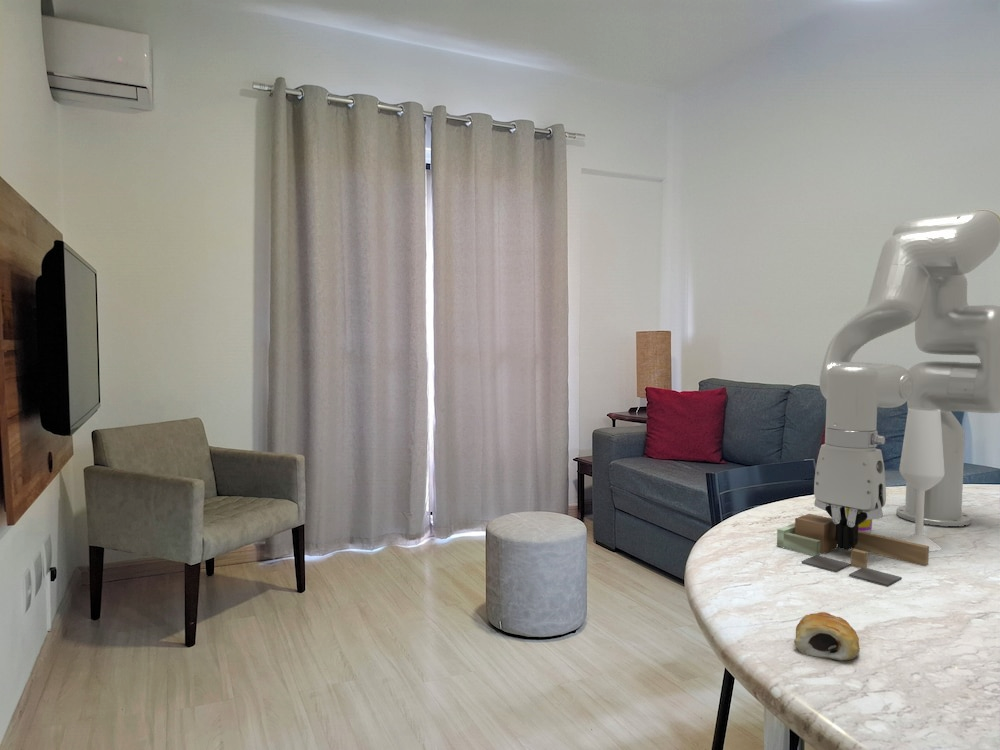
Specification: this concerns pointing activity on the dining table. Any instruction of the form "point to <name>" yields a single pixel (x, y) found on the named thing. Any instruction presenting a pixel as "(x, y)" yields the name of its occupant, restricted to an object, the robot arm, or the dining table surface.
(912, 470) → the champagne flute
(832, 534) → the block
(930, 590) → the dining table surface
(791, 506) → the dining table surface
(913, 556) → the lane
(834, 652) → the pastry
